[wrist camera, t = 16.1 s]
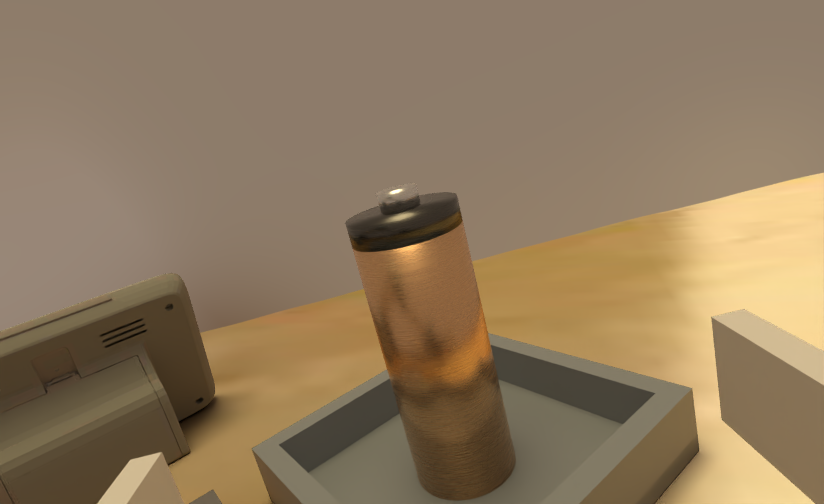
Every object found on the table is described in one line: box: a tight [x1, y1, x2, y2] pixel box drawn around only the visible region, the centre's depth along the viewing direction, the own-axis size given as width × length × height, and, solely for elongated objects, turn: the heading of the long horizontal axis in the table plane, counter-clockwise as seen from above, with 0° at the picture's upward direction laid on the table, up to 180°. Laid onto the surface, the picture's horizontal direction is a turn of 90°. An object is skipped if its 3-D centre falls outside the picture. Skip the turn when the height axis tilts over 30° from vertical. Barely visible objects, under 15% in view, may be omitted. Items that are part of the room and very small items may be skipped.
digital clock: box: [0, 273, 215, 504], centre depth 31 cm, size 16×9×11 cm, turn 117°
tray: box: [252, 333, 699, 504], centre depth 23 cm, size 14×14×3 cm
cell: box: [346, 183, 516, 501], centre depth 22 cm, size 4×4×13 cm
